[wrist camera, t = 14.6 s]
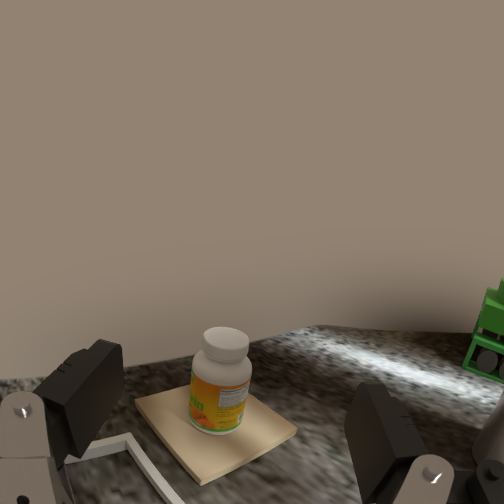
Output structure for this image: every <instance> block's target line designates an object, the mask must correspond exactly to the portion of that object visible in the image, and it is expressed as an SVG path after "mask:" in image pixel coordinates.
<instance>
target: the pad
mask: <svg viewBox="0 0 504 504" xmlns="http://www.w3.org/2000/svg"><path fill="white" fill-rule="evenodd" d="M190 385H191V384H189V385H186V386H182V387H179V388H175V389H172V390H168V391H165V392H161V393H157V394H153V395H149V396H146V397H142V398H137V399H135V406H136V408H137V409H138V411H139V412H140V413H141V415H142V416H143V418H144V419H145V420H146V422H147V423H148V424H149V426H150V427H151V428H152V430H153V431H154V432H155V434H156V435H157V436H158V437H159V439H160V440H161V441H162V442H163V444H164V445H165V446H166V447H167V449H168V450H169V451H170V452H171V453H172V455H173V456H174V457H175V458H176V459H177V461H178V462H179V463H180V464H181V465H182V466H183V467H184V469H185V470H186V471H187V472H188V473H189V474H190V475H191V476H192V478H193V479H194V480H195V481H196V482H197V483H198V484H199V485H200V486H202V485H204V484H206V483H208V482H210V481H212V480H215V479H217V478H219V477H221V476H223V475H225V474H227V473H229V472H231V471H233V470H235V469H237V468H239V467H240V466H242V465H244V464H246V463H248V462H250V461H252V460H253V459H255V458H257V457H259V456H260V455H262V454H264V453H266V452H267V451H269V450H271V449H273V448H274V447H276V446H278V445H279V444H281V443H283V442H284V441H286V440H287V439H289V438H291V437H292V436H294V435H295V434H296V431H297V427H295V426H294V425H292V424H291V423H290V422H288V421H287V420H285V419H284V418H282V417H281V416H280V415H278V414H277V413H275V412H274V411H273V410H271V409H270V408H268V407H267V406H266V405H264V404H263V403H262V402H260V401H259V400H258V399H256V398H255V397H254V396H252V395H251V394H250V393H248V394H247V399H246V404H245V409H244V414H243V419H242V422H241V424H240V426H239V427H238V428H237V429H236V430H235V431H233V432H231V433H229V434H225V435H212V434H207V433H205V432H202V431H200V430H199V429H197V428H196V427H195V426H194V425H193V424H192V423H191V421H190V419H189V415H188V410H189V397H190Z"/></svg>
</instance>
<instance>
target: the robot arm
mask: <svg viewBox="0 0 504 504" xmlns="http://www.w3.org/2000/svg"><path fill="white" fill-rule="evenodd" d="M123 389H124V370H123V358H122V347H121V345H120V344H116V343H113V342H109V341H106V340H102V339H99V340H97V341H96V342H95V343H94V344H93V345H92V346H91V347H90V348H89V349H88V350H87V349H82V350H80V351H78V352H75V353H73V354H71V355H70V356H69V357H68V358H67V359H66V360H65V361H64V362H63V364H61V365H60V366H59V367H58V368H57V370H54V371H53V372H52V373H51V374H50V375H49V376H48V377H47V378H46V379H45V380H44V381H43V382H42V383H41V384H40V385H39V386H38V387H37V388H36V389H35V390H34V391H33V392H27V391H17V392H13V393H11V394H9V395H7V396H6V397H5V398H4V399H0V504H76V501H75V498H74V495H73V491H72V488H71V484H70V480H69V476H68V472H67V468H66V464H65V462H64V460H65V459H66V457H67V456H68V454H69V455H72V456H74V457H76V458H78V459H81V458H82V456H83V455H84V453H85V452H86V450H87V448H88V447H89V445H90V444H91V442H92V441H93V439H94V437H95V436H96V434H97V433H98V431H99V430H100V428H101V426H102V425H103V423H104V422H105V420H106V419H107V417H108V416H109V414H110V413H111V411H112V409H113V408H114V406H115V405H116V403H117V402H118V400H119V399H120V397H121V395H122V392H123ZM344 429H345V435H346V439H347V442H348V446H349V450H350V454H351V458H352V462H353V466H354V470H355V474H356V478H357V482H358V486H359V490H360V495H361V499H362V503H363V504H372V503H376V504H504V391H503V393H502V395H501V397H500V399H499V401H498V403H497V404H496V406H495V408H494V410H493V412H492V413H491V415H490V417H489V418H488V420H487V422H486V423H485V425H484V427H483V428H482V430H481V431H480V433H479V434H478V436H477V438H476V439H475V441H474V442H473V445H472V455H473V458H474V460H475V462H476V463H477V465H478V466H477V467H476V469H475V470H474V471H456V470H453V468H452V466H451V465H450V463H449V462H448V461H446V460H445V459H443V458H442V457H439V456H436V455H430V453H429V451H428V449H427V447H426V446H425V444H424V442H423V440H422V438H421V436H420V434H419V432H418V430H417V428H416V426H414V422H413V421H412V419H411V418H410V415H409V413H408V411H407V409H406V407H405V406H404V405H403V404H402V403H401V402H400V401H399V400H398V399H396V398H395V397H390V395H389V393H388V391H387V389H386V387H385V385H384V384H383V383H374V382H361V383H360V384H359V386H358V388H357V390H356V393H355V396H354V398H353V401H352V403H351V406H350V408H349V410H348V413H347V415H346V419H345V426H344Z"/></svg>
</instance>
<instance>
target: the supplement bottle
mask: <svg viewBox="0 0 504 504" xmlns="http://www.w3.org/2000/svg"><path fill="white" fill-rule="evenodd" d="M248 347H249V338H248V336H247V335H246V334H244V333H243V332H241V331H239V330H236V329H233V328H228V327H214V328H210V329H208V330H206V331H205V332H204V334H203V340H202V350H200V351H199V352H198V353H197V354H196V355H195V356H194V358H193V362H192V372H191V385H190V397H189V410H188V415H189V419H190V421H191V423H192V424H193V425H194V426H195V427H196V428H197V429H199V430H200V431H202V432H205V433H207V434H212V435H225V434H229V433H231V432H233V431H235V430H236V429H237V428H238V427H239V426H240V424H241V422H242V419H243V414H244V409H245V404H246V399H247V394H248V389H249V384H250V379H251V374H252V365H251V362H250V360H249V359H248V357H247V353H248Z"/></svg>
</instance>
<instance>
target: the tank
mask: <svg viewBox="0 0 504 504" xmlns="http://www.w3.org/2000/svg"><path fill="white" fill-rule="evenodd" d="M479 327H481V328H483V332H482V334H481V333H479V332H477V330H478V328H479ZM498 334H500V340H497V339H496V338H497V337H498ZM471 338H472V339H473V340H472V342H471V345H470V347H469V350H468V352H467V354H466V357H465V359H464V362H463V365H462V368H465V370H467V371H470V372H473V373H475V374H478V375H481V376H483V377H486V378H489V379H492V380H494V381H497V382H500V383H503V384H504V357H503V358H502V359H501V361H500V365H499V370H497V369H495V368H496V366H497V363H498V353H501V354H503V355H504V278H502V279H501V282H500V285H499V289H498V290H495V289H493V288H490V287H488V288H487V291H486V294H485V298H484V301H483V304H482V309H481V311H480V314H479V316H478V319H477V322H476V325H475V328H474V330H473V333H472V336H471ZM476 344H477V345H480V346H482V347H483V348H482V349H481V350H480V351H479V354H478V358H477V362H475V361H472V360H470V358H471V356H472V354H473V351H474V349H475V346H476Z"/></svg>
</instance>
